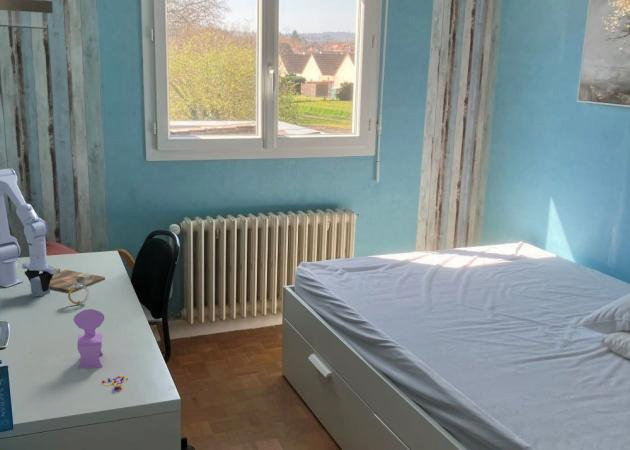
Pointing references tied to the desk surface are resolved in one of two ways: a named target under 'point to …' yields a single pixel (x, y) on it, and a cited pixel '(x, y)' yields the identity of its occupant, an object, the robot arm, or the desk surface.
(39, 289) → the slate block
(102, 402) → the desk surface
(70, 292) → the ring
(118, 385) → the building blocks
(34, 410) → the desk surface
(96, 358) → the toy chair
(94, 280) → the wooden board
